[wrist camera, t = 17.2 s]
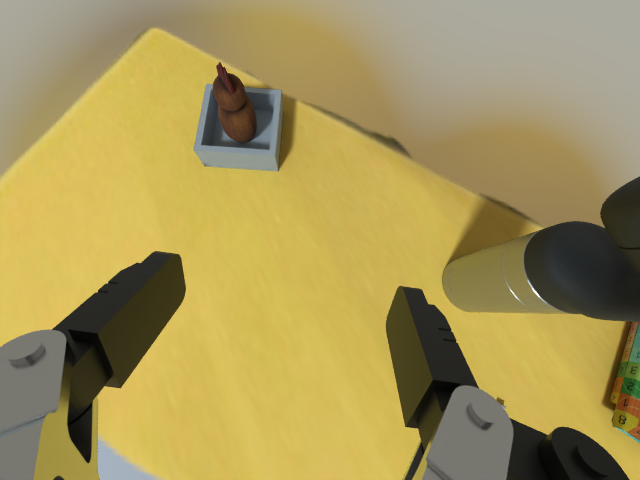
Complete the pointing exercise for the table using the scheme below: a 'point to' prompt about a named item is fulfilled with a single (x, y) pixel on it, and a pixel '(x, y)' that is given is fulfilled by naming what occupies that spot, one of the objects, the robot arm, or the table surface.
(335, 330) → the table surface
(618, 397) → the puzzle game
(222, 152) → the slate tray
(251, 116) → the wooden figurine
